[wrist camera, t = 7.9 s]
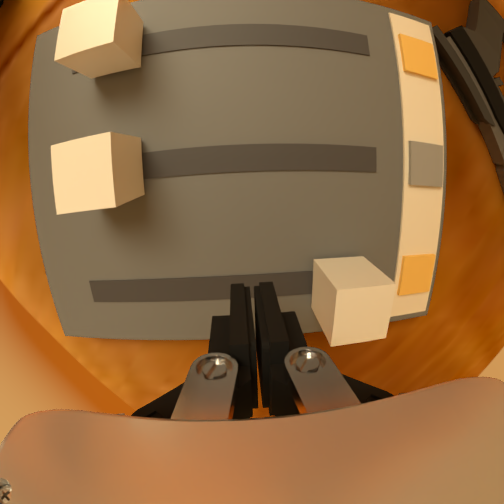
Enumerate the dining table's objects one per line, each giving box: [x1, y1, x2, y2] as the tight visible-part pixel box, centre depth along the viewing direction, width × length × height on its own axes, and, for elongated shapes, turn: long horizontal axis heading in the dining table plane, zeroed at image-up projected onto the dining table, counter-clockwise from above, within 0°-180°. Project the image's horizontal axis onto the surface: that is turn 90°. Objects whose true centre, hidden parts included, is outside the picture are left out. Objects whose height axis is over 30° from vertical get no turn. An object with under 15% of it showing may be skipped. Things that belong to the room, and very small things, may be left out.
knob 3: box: [311, 256, 396, 347], centre depth 15 cm, size 3×3×4 cm
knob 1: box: [54, 0, 143, 79], centre depth 10 cm, size 3×3×4 cm
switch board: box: [28, 0, 446, 340], centre depth 15 cm, size 21×26×3 cm
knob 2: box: [51, 132, 145, 215], centre depth 12 cm, size 3×3×4 cm
